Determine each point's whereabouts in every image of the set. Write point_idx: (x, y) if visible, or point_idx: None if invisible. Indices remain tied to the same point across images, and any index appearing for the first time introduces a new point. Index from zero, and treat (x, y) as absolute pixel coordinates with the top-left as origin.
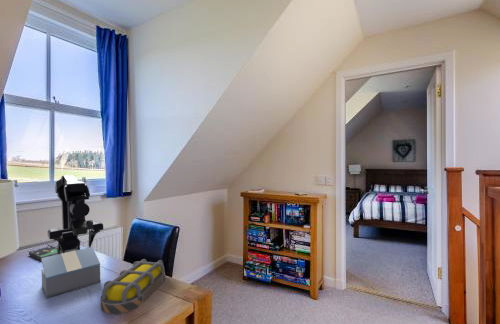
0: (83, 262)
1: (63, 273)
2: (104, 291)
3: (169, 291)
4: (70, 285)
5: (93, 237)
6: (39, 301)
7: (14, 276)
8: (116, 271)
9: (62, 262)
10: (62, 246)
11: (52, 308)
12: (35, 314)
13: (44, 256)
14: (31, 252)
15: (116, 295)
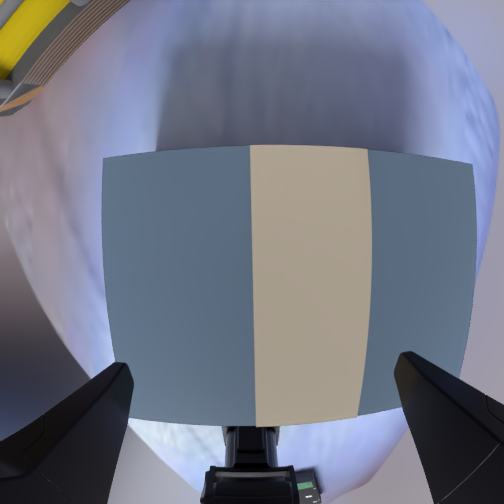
0: (222, 228)
1: (387, 153)
2: None
3: None
4: None
5: (22, 436)
6: (426, 150)
7: (397, 418)
8: (73, 237)
9: (378, 302)
10: (468, 397)
11: (393, 39)
12: (440, 51)
13: (303, 482)
14: (318, 500)
15: None
